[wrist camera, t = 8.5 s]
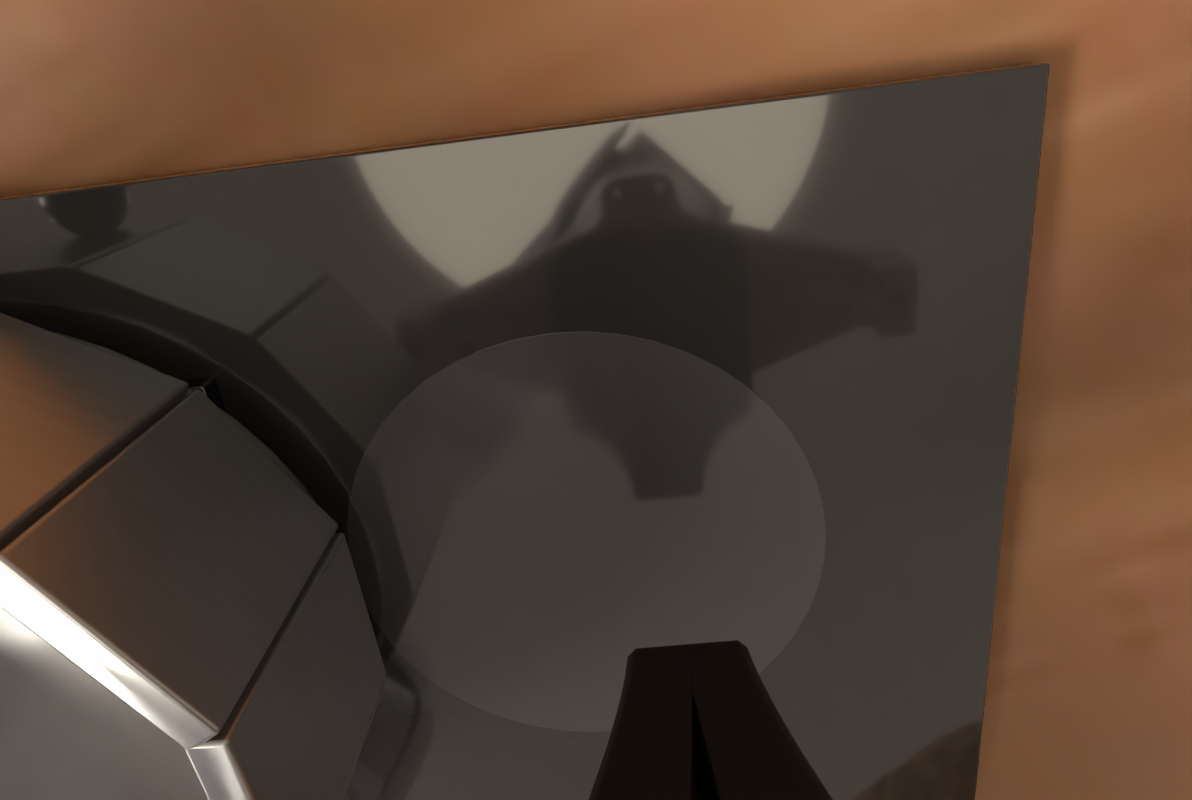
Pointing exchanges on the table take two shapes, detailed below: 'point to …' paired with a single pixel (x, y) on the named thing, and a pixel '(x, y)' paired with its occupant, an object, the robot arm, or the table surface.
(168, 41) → the table surface
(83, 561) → the saucepan
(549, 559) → the hob
